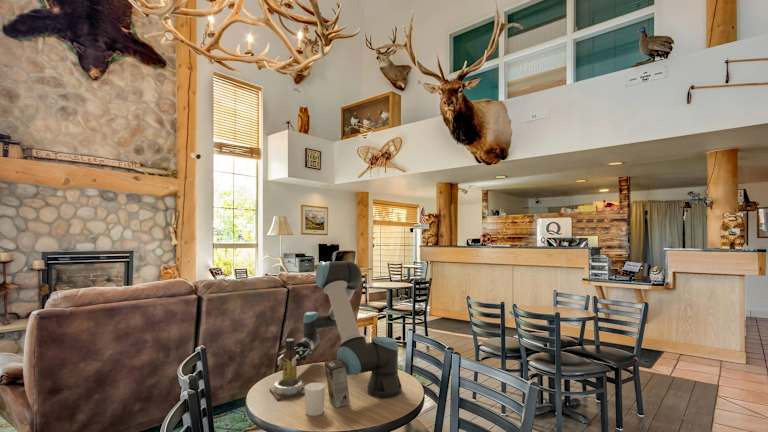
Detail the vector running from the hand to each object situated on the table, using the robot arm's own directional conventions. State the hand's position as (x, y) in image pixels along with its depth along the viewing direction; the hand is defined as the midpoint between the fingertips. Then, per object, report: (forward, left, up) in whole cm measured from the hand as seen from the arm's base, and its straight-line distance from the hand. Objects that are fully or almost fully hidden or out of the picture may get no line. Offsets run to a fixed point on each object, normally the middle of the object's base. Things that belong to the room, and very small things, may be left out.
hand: (285, 361), depth 186 cm
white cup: (-31, -2, -11) cm, 33 cm away
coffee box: (-28, -14, -11) cm, 33 cm away
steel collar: (-7, +1, -11) cm, 13 cm away
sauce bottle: (+4, -3, -11) cm, 12 cm away
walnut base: (-7, +1, -11) cm, 13 cm away
